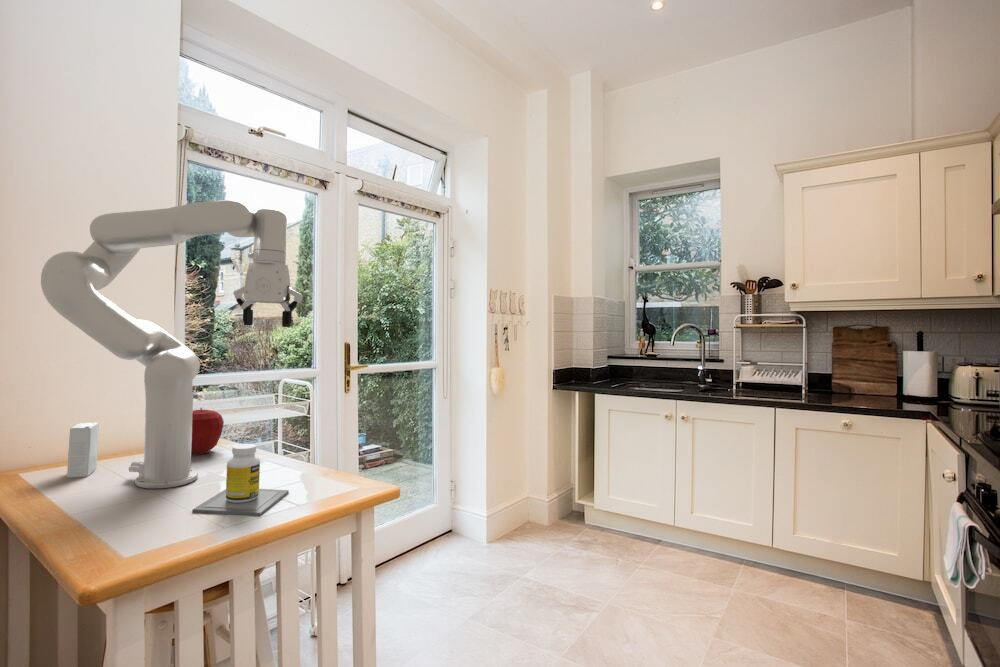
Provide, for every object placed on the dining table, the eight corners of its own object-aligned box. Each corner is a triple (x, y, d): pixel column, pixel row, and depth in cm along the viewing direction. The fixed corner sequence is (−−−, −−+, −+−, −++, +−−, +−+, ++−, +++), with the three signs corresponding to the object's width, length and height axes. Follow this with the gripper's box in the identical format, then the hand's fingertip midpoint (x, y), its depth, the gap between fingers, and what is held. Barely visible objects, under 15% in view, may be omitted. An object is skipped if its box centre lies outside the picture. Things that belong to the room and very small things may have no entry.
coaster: (192, 512, 105) (192, 508, 105) (228, 489, 119) (228, 486, 119) (260, 515, 105) (260, 512, 105) (288, 492, 119) (288, 489, 119)
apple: (228, 454, 148) (230, 408, 148) (183, 460, 139) (184, 412, 139) (214, 445, 156) (216, 402, 156) (170, 451, 148) (172, 405, 147)
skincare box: (75, 471, 127) (77, 422, 126) (98, 469, 128) (99, 422, 128) (66, 478, 121) (67, 427, 121) (89, 477, 123) (90, 427, 122)
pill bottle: (245, 505, 108) (247, 451, 108) (218, 502, 109) (220, 448, 109) (265, 495, 114) (267, 444, 114) (239, 492, 115) (241, 441, 115)
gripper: (227, 255, 126) (225, 324, 126) (297, 258, 125) (294, 327, 126) (243, 259, 133) (240, 324, 133) (309, 262, 133) (306, 327, 133)
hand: (267, 326), depth 130 cm, fingers open, 9 cm apart
